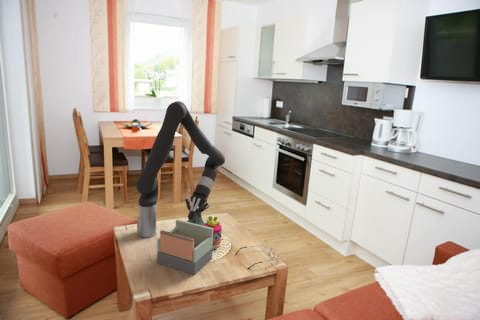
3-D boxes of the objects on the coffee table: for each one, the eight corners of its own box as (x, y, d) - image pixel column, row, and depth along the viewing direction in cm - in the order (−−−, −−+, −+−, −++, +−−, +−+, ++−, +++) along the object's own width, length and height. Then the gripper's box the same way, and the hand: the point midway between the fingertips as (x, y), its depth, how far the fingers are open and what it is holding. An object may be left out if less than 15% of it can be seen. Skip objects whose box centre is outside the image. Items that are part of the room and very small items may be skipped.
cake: (223, 249, 175) (225, 221, 171) (204, 251, 171) (205, 223, 167) (217, 240, 184) (218, 214, 181) (198, 242, 180) (199, 215, 177)
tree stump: (202, 221, 208) (207, 197, 201) (211, 243, 192) (217, 217, 184) (172, 223, 201) (176, 197, 193) (179, 245, 184) (183, 218, 177)
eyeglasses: (282, 263, 165) (283, 254, 164) (248, 271, 156) (249, 261, 155) (265, 248, 179) (266, 240, 178) (233, 254, 170) (234, 245, 169)
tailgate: (161, 250, 156) (162, 230, 154) (193, 259, 150) (194, 238, 148) (159, 251, 155) (160, 231, 153) (191, 261, 149) (192, 240, 146)
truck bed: (176, 248, 171) (177, 219, 168) (211, 259, 164) (213, 228, 160) (157, 263, 157) (157, 231, 154) (194, 275, 149) (195, 241, 146)
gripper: (189, 181, 167) (174, 213, 158) (213, 186, 162) (199, 218, 153) (194, 189, 173) (180, 220, 164) (218, 193, 168) (205, 225, 159)
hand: (190, 219), depth 159 cm, fingers closed
